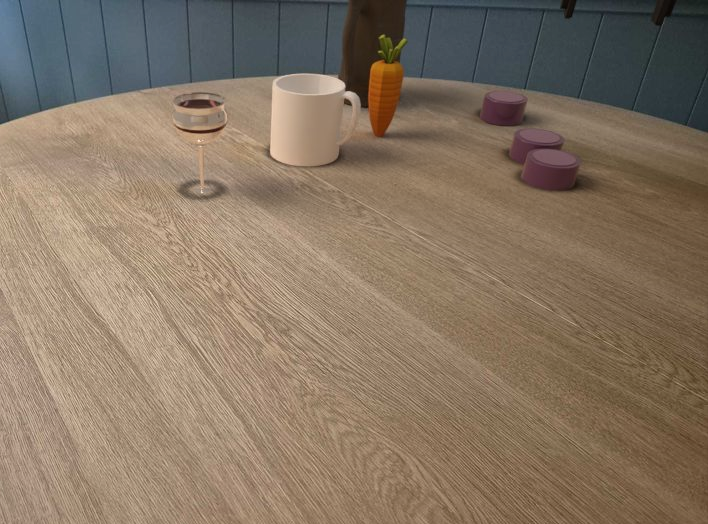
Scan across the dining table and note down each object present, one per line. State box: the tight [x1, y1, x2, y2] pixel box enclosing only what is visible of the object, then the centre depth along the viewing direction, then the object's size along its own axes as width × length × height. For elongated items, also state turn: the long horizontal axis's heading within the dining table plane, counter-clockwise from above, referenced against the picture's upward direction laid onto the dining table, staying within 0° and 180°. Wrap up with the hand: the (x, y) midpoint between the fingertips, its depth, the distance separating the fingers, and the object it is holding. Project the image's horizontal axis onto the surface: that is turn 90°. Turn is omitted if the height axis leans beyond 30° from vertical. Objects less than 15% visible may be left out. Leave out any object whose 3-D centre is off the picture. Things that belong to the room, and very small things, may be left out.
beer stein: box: [337, 0, 408, 108], centre depth 111 cm, size 15×11×20 cm
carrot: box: [368, 35, 409, 138], centre depth 98 cm, size 5×5×15 cm
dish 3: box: [520, 149, 582, 191], centre depth 89 cm, size 7×7×4 cm
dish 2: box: [508, 127, 565, 165], centre depth 95 cm, size 7×7×4 cm
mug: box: [269, 73, 362, 167], centre depth 93 cm, size 13×10×10 cm
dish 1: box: [479, 90, 529, 127], centre depth 109 cm, size 7×7×4 cm
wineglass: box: [171, 91, 229, 194], centre depth 83 cm, size 7×7×12 cm
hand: (610, 19), depth 77 cm, fingers open, 9 cm apart
